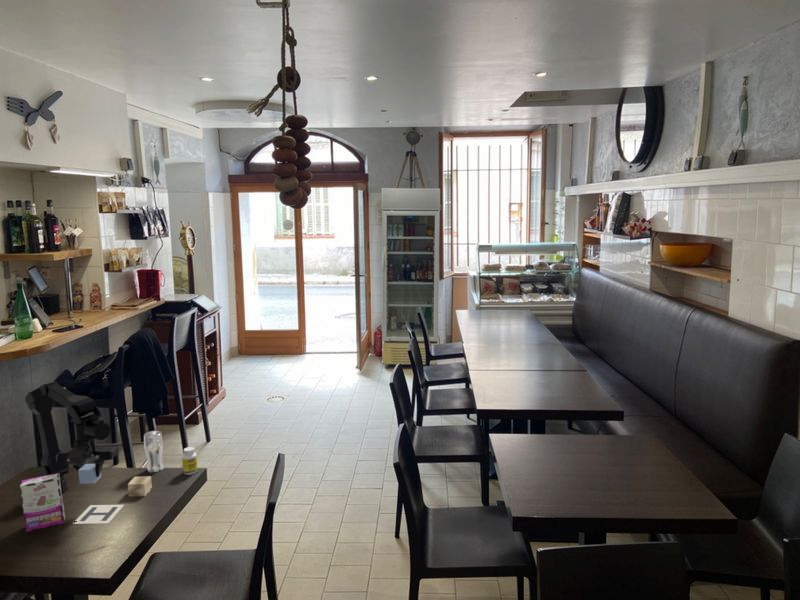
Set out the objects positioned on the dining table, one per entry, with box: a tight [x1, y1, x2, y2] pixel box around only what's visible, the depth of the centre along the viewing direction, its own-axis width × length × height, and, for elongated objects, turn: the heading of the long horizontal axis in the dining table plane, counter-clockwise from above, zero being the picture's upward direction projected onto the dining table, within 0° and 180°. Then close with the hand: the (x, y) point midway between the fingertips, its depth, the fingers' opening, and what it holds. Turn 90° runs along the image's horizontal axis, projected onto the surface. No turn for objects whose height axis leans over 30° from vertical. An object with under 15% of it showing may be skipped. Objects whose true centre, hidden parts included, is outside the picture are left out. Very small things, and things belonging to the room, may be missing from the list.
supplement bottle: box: [181, 446, 198, 476], centre depth 232 cm, size 5×5×10 cm
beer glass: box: [143, 430, 164, 473], centre depth 234 cm, size 7×7×15 cm
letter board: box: [72, 504, 125, 525], centre depth 202 cm, size 12×12×1 cm
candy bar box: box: [19, 473, 66, 533], centre depth 194 cm, size 11×5×16 cm, turn 117°
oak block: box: [127, 475, 153, 497], centre depth 216 cm, size 6×6×5 cm
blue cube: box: [77, 463, 102, 485], centre depth 204 cm, size 5×5×5 cm
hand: (90, 477), depth 204 cm, fingers closed on blue cube, 5 cm apart
